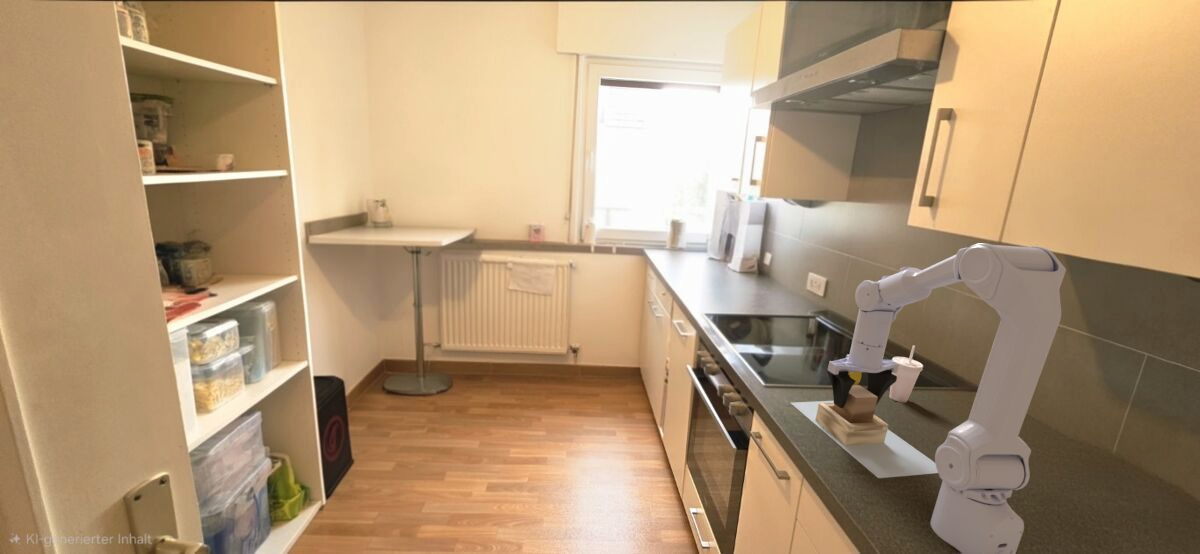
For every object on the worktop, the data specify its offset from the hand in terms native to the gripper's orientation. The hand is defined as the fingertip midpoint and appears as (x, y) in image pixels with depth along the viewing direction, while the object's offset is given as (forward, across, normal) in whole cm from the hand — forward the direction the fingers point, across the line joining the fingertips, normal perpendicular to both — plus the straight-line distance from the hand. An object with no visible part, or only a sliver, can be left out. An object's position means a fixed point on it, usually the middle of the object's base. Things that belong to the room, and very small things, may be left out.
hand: (854, 404), depth 95 cm
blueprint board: (+7, -2, +1) cm, 7 cm away
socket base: (+6, 0, 0) cm, 6 cm away
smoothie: (+7, -25, -13) cm, 29 cm away
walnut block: (+3, 0, 0) cm, 3 cm away
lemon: (+7, -15, -19) cm, 25 cm away
